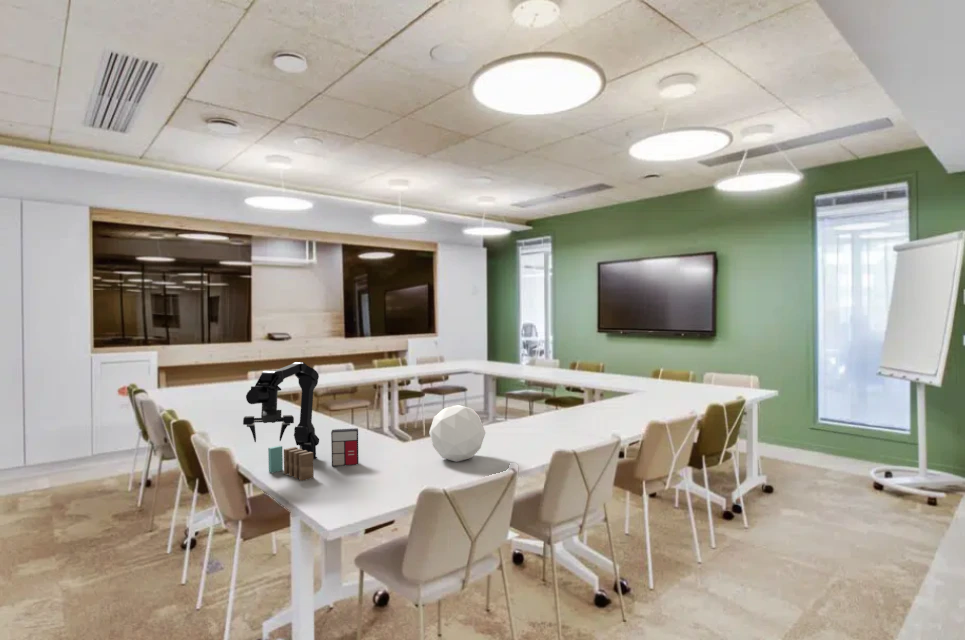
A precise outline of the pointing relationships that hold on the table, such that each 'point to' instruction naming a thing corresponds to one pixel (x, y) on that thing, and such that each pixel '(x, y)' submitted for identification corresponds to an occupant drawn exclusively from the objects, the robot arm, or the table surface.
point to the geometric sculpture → (457, 433)
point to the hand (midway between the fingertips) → (267, 441)
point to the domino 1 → (275, 459)
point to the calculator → (344, 447)
